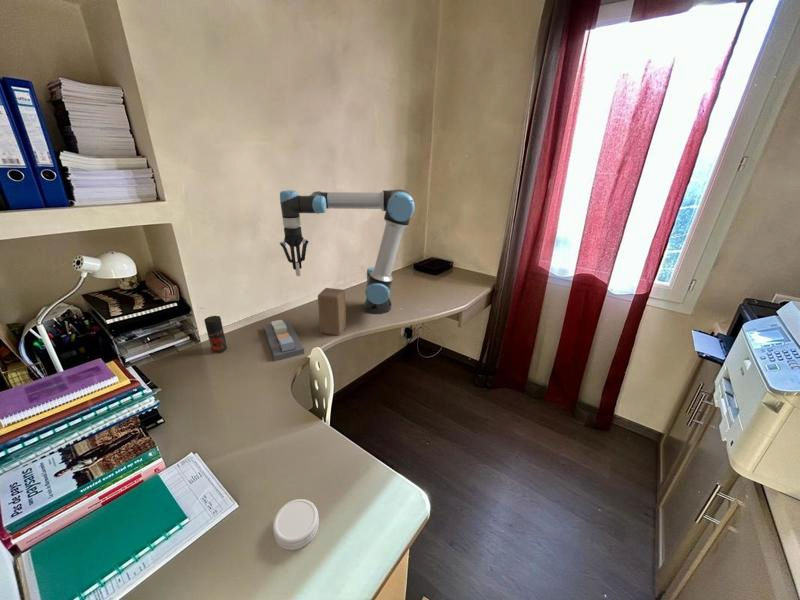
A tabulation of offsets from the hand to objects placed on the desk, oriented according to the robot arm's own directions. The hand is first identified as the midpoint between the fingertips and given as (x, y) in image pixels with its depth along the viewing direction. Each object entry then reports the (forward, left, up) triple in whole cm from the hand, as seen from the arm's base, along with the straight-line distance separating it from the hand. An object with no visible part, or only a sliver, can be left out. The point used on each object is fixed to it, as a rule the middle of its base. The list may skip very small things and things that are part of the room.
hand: (298, 275), depth 162 cm
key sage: (+13, +14, -21) cm, 29 cm away
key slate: (+13, +28, -21) cm, 37 cm away
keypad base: (+13, +17, -24) cm, 32 cm away
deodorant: (+39, +13, -24) cm, 47 cm away
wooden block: (-11, +18, -24) cm, 32 cm away
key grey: (+13, +7, -23) cm, 27 cm away
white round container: (+26, +103, -24) cm, 109 cm away
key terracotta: (+13, +21, -23) cm, 34 cm away
